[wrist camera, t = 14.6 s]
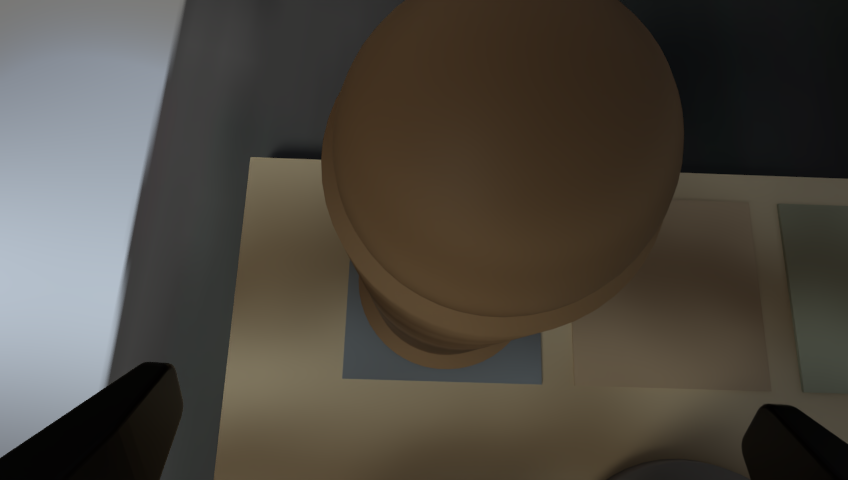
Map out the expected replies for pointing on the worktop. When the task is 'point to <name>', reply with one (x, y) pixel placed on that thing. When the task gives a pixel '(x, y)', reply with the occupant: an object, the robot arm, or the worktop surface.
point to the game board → (543, 350)
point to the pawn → (499, 168)
